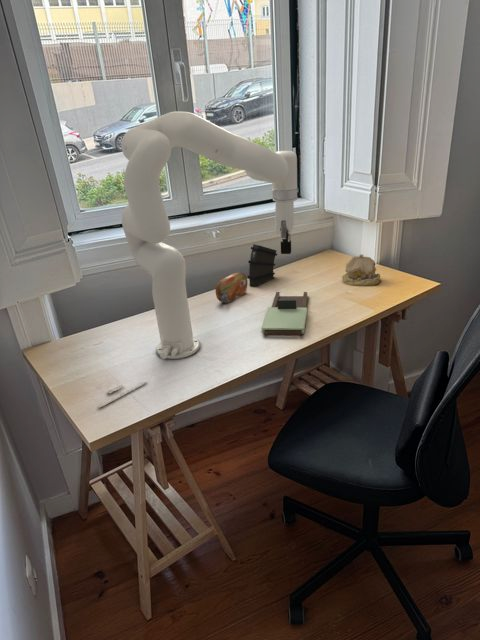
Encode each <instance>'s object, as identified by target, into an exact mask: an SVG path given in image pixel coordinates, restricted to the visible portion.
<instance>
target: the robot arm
mask: <svg viewBox="0 0 480 640" xmlns="http://www.w3.org/2000/svg"><path fill="white" fill-rule="evenodd" d="M120 144H121V152H122V154H123V156H124V157H125V159H127V160H128V162H127V164H126V167H125V170H124V176H123V186H124V191H125V195H126V199H127V202H128V204H127V205H126V206H125V208H124V209H123V211H122V214H121V225H122V229H123V230H122V231H123V232H124V237H125V239H126V242H127V244H128V247H129V250H130V252H131V256H132V258H133V260H134V262H135V264H136V266H137V267H138V268H139V269H140V270H142V271H143V272H145V273H147V274H149V275H150V276H151V279H152V286H151V293H152V296H151V297H152V301H153V307H154V311H155V317H156V322H157V323H156V324H157V328H158V329H157V330H158V333H159V339H160V342H159V343H158V345H157V346H156V352H157V355H158V356H159V357H160V358H161V359H162V360H163V359H170V360H177V359H184V358H186V357H190V356H192V355H193V354H195V353H196V352H197V351H199V349H200V341H199V340H198V339H197V338H195V337H194V334H193V328H192V321H191V313H190V306H189V300H188V292H187V284H186V282H187V281H186V276H187V275H186V273H187V264H186V261H185V257H184V255H183V254H182V253H181V252H180V251H179V250H178V249H177V248H176V247H174V246H172V245H170V244H167V243H165V241H166V240H167V239H168V238H169V236H170V234H171V223H170V218H169V216H168V212H167V209H166V206H165V202H164V199H163V196H162V191H161V187H160V177H161V174H162V171H163V169H164V167H165V166H166V164H168V161H169V160H170V158H171V153H172V149H173V148H176V147H177V148H183V149H186V150H188V151H190V152H192V153H194V154H196V155H199V156H201V157H204V158H206V159H208V160H210V161H211V162H214V163H216V164H218V165H221V166H224V167H228V168H232V169H236V170H240V171H245V174H246V175H247V177H249V178H250V179H252V180H255V181H259V182H266V183H270V184H271V187H272V188H271V189H272V190H271V191H272V192H271V193H272V201H273V202H275V208H274V209H275V211H274V213H275V215H274V218H275V219H274V221H275V223H274V226H275V227H274V229H275V230H274V233H275V234H276V235H279V234H280V254H281V255H291V254H292V240H291V238H292V237H291V236H292V235H291V234H292V231H293V228H294V220H295V219H294V218H295V217H294V216H295V215H294V210H295V209H294V208H295V205H294V201H297V200H298V157H297V153H296V152H295V151H292V150H278V151H274V150H272V149H269V148H267V147H265V146H263V145H261V144H260V143H257V142H254V141H252V140H250V139H247V138H245V137H242V136H241V135H238V134H235V133H234V132H230V131H229V130H226V129H225V128H223V127H221V126H218V125H217V124H215V123H213V122H211V121H209V120H207V119H205V118H204V117H201V116H199V115H198V114H195V113H193V112H189V111H170V112H167V113H165V114H162V115H160V116H158V117H156V118H154V119H151V120H148V121H146V122H144V123H141V124H139V125H137V126H134V127H133V128H131V129H129V130H127V131H126V132H125V134H124V135H123V137H122V139H121V143H120Z"/></svg>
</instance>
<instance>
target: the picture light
mask: <svg viewBox="0 0 480 640" xmlns="http://www.w3.org/2000/svg"><path fill="white" fill-rule="evenodd" d="M143 385H145V382H140V383H139V384H137V385H135V386H133V387H131V388H129V389H127V390H126V391H124V389H123V388H122V384H120V383H116V384H115V385H114V386H112V387H109V388H108V389H107V390H106V393H108V394H112V393H114V392H117V391H119V394H118V395H116V396H114V397H112V398H111V399H108V400H107V401H105V402H103V403H101V404H100V405H99V406H98V408H103V407H105V406H106V405H108V404H110V403H112V402H114V401H116V400H118V399H120V398H122V397H123V396H125V395H128V394H129V393H131V392H132V391H135V390H137V389H138V388H141V387H142V386H143ZM120 389H121V390H122V392H121V390H120Z"/></svg>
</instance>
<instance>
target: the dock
mask: <svg viewBox="0 0 480 640" xmlns="http://www.w3.org/2000/svg"><path fill="white" fill-rule="evenodd" d="M280 293H281V292H280V291H275V295H274V298H273V302H272V304H271V307H278V302H277V300H278V299H296V305H297V307H298V308H307V303H308V302H307V300H308V292H307V291H303V295H287V296H286V295H280ZM264 336H273V337H274V336H275V337H277V336H280V337H281V336H282V337H283V336H287V337H301V336H302V330H264Z"/></svg>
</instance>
